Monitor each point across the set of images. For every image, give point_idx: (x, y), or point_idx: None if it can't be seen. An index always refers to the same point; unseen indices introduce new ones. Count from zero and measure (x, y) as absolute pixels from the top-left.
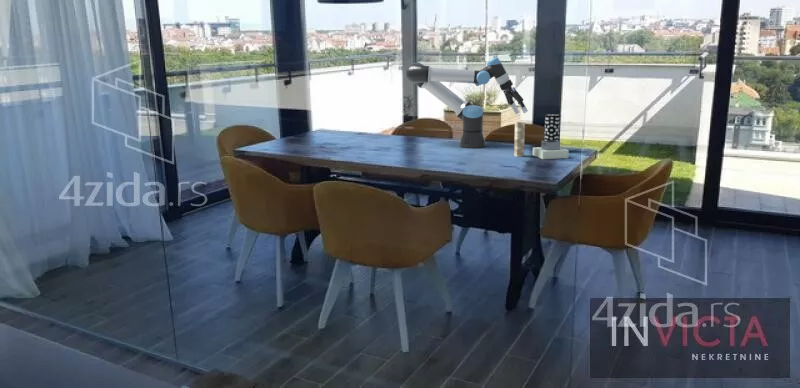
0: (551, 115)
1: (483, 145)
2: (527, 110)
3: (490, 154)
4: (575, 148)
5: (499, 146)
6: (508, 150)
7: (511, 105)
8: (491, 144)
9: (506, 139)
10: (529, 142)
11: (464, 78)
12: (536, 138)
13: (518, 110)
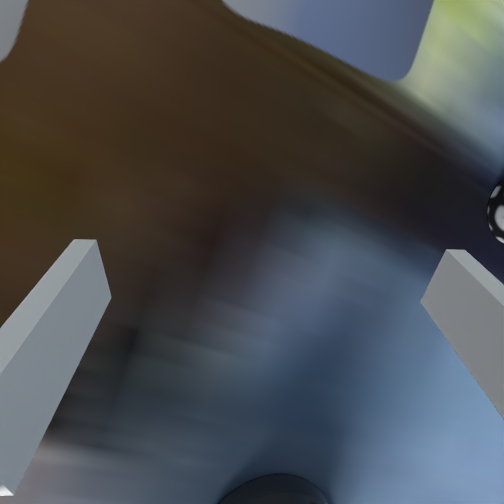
0: None
1: (322, 496)
2: (469, 259)
3: (499, 488)
4: (494, 57)
5: (315, 403)
6: (438, 392)
7: (20, 475)
8: (233, 429)
9: (32, 278)
10: (224, 186)
11: None
12: (39, 43)
13: (83, 266)
